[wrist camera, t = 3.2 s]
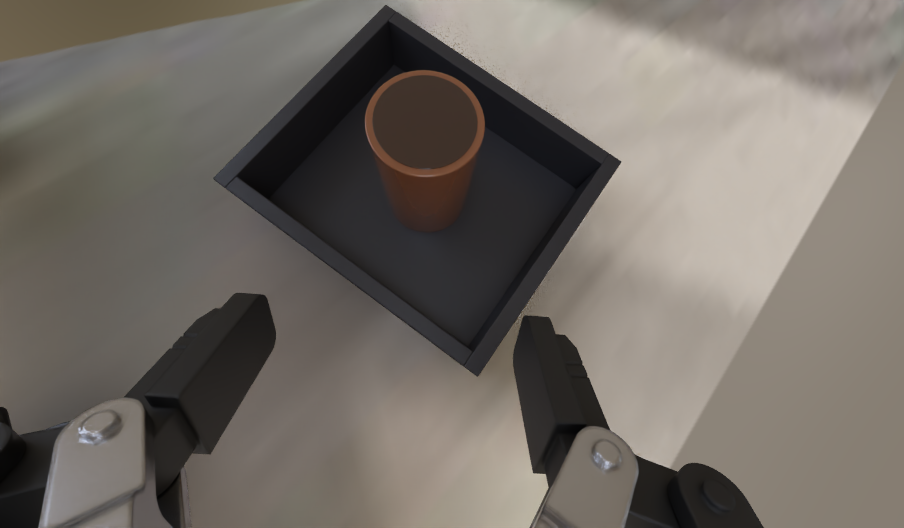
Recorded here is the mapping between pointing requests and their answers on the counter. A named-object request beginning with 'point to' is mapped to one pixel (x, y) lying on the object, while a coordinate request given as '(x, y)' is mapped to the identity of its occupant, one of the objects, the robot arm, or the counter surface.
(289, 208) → the dark square tray
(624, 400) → the counter surface
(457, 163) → the brown cup
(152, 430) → the robot arm
